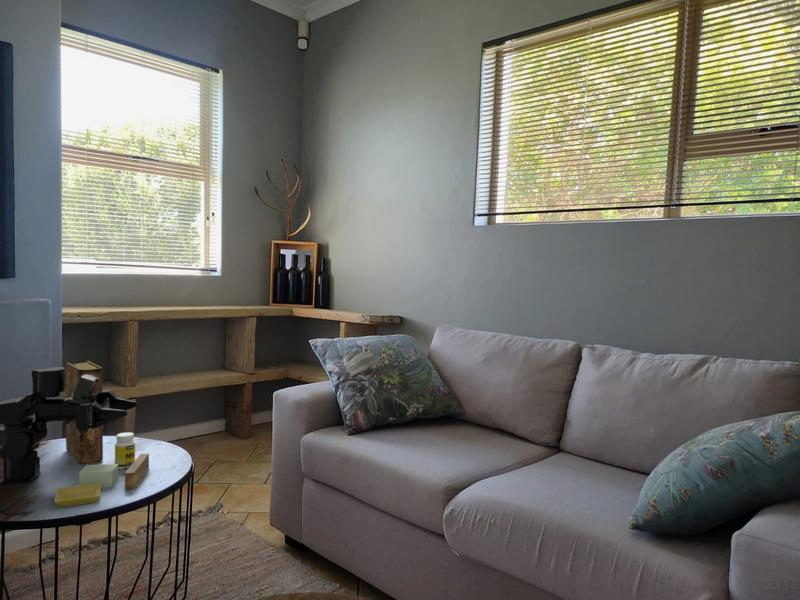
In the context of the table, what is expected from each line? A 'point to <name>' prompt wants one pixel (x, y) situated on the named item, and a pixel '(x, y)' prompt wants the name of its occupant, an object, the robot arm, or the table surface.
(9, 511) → the table surface
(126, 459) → the supplement bottle
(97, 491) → the yellow tray
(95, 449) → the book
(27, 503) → the table surface
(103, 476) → the block
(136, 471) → the board
